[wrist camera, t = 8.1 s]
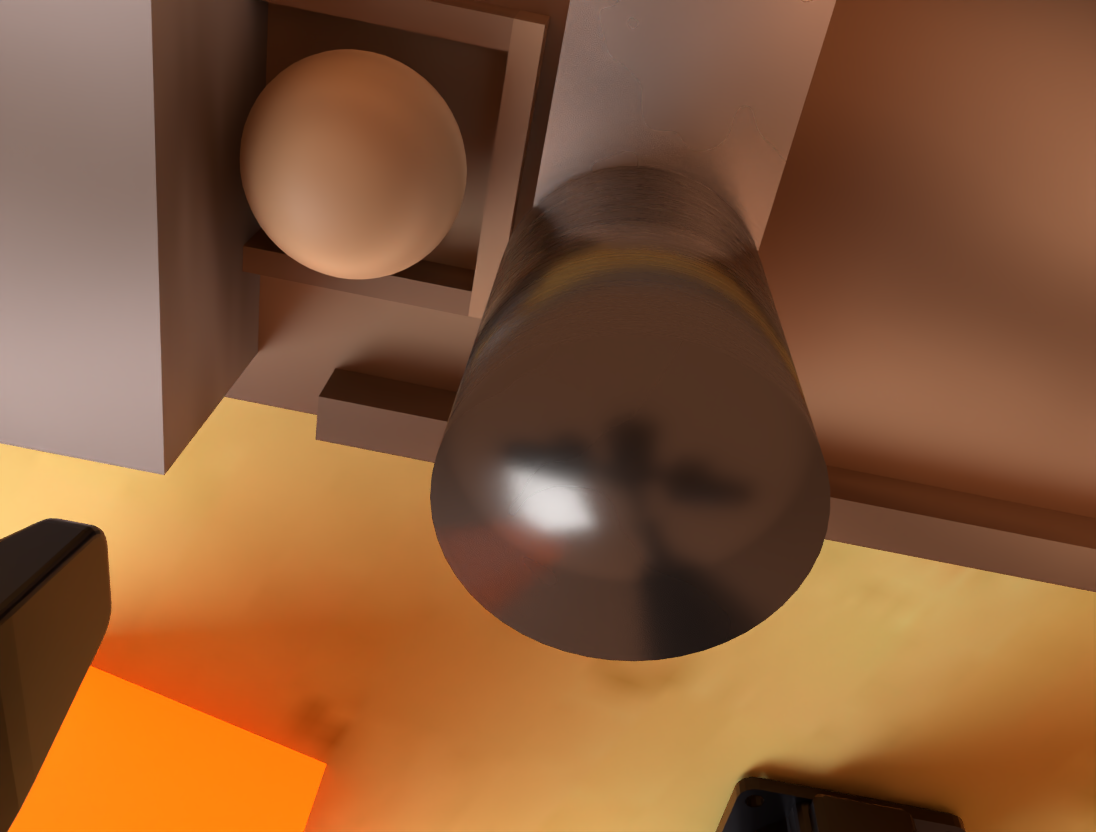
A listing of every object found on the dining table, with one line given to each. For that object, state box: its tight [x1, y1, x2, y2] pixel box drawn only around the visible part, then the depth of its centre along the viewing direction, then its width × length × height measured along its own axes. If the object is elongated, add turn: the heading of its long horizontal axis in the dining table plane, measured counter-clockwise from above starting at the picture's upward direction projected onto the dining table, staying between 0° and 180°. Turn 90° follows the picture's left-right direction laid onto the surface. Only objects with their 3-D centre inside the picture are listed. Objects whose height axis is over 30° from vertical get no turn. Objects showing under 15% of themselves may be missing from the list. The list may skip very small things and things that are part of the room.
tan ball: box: [240, 49, 467, 279], centre depth 16 cm, size 4×4×4 cm
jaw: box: [430, 0, 836, 661], centre depth 12 cm, size 9×4×9 cm, turn 170°
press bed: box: [0, 0, 1096, 592], centre depth 16 cm, size 12×24×6 cm, turn 80°
